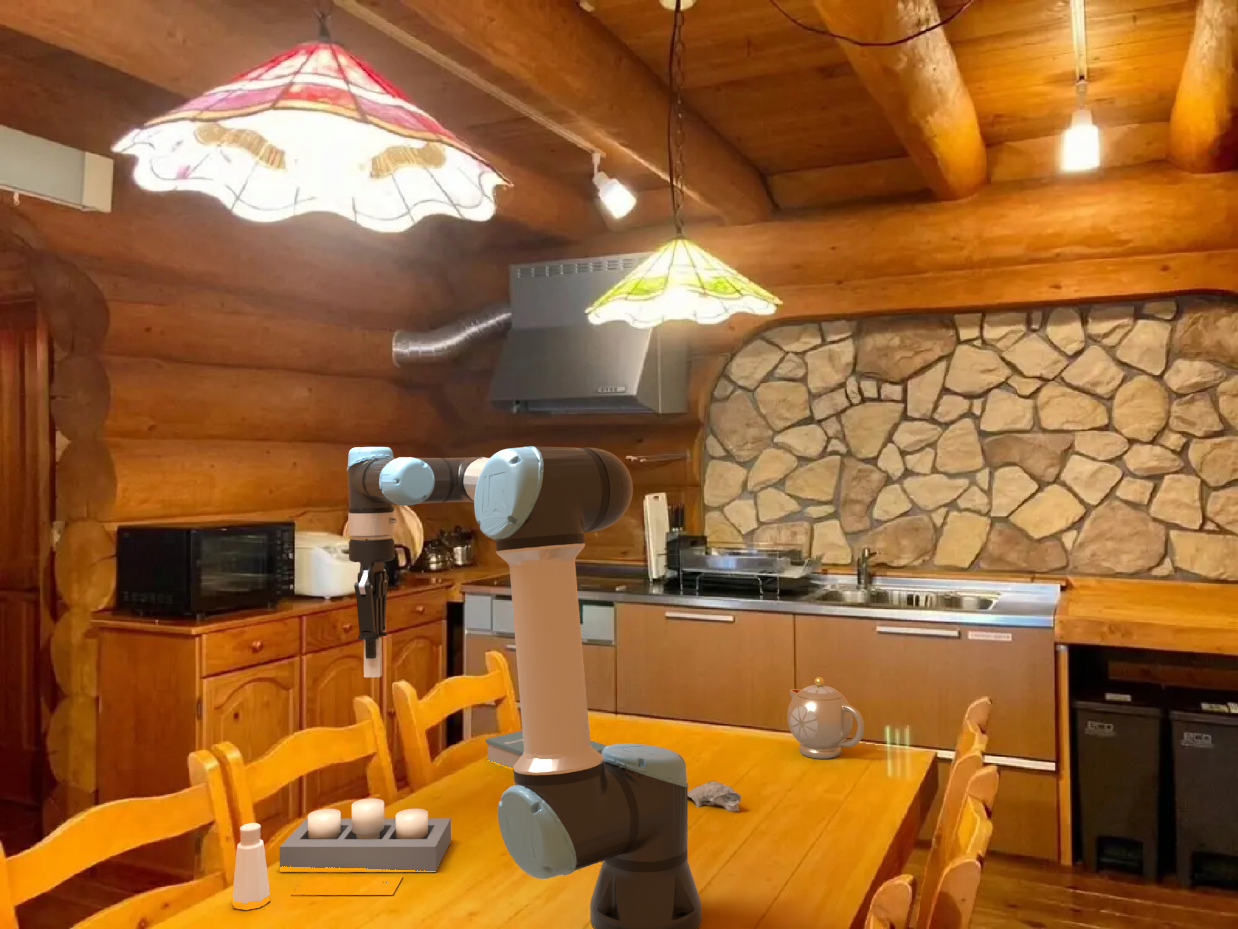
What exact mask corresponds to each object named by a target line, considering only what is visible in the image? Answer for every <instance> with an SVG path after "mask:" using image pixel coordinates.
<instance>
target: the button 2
mask: <svg viewBox="0 0 1238 929" xmlns="http://www.w3.org/2000/svg"><path fill="white" fill-rule="evenodd" d="M395 818H396V839H427V838H428V818H429V813H428V811H427V810H426V809H423V808H408V809H403V810H400V811H398V812H397V813H396V814H395Z"/></svg>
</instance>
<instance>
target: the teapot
mask: <svg viewBox="0 0 1238 929" xmlns="http://www.w3.org/2000/svg"><path fill="white" fill-rule="evenodd" d="M789 694H790V698H791V700H790V702H789V705H788V709H787V714H786V715H787V717H786V718H787V724H788V728H789V730H790V732H791V734H792V736H793V738H794V739H795V740H796V741H797V742H798V743H800V744H799V745H798V746H799V747H798V750H799V752H800V754H801V755H803V756H804V757H807V758H811V759H818V760H828V759H834V758H837V757H839V756H840V755H841V753H842V748H853V747H854V746H856V745H858V744H859V743H860V742H861V740H862V738H863V736H864V731H865V723H864V718H863V716H862V714H861V712H860V711H859V710H858V709H857V708H855V707H854V706H853V705H851V704H850V703H849V701H848V700H847V698H846V697H845V696H844V695H843V694H842V693H841V692H840V691H838V690H837V689H836V688H834V687H832V686H828V685H825V679H824V678H823V677H821V676H817V677H816V678H815V679H814V684H812V685H808V686H806V687H804V688H802V689H796V688H792V689H791V688H790V689H789ZM853 718H854V719H855V721H856V732H855V735H854V736H853V737H852V738H850V739H847V738H848V737H849V735H850V733H851V732H852V728H853V722H854V721H853V720H854V719H853Z"/></svg>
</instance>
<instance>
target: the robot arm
mask: <svg viewBox="0 0 1238 929" xmlns="http://www.w3.org/2000/svg"><path fill="white" fill-rule="evenodd" d="M347 459H348V460H347V468H346V472H347V489H348V490H347V495H348V499H347V500H348V513H347V514H348V515H347V516H348V517H347V518H348V521H347V522H348V523H347V524H348V530H347V531H348V534H347V535H348V536H349V537H351V539H350V540H349V541H348V559H349V561H350V562H352V563H359V565H360V566H359V572H357V575H356V576H357V582H354V584H353V586H354V593H355V597H356V599H355V600H356V608H357V610H356V611H357V620H358V634H359V635H357V638H358V640H363V677H364V678H381V677H382V676H383V643H382V642H383V638H382V637H387V635H388V632H385V630H386V621H387V620H386V619H387V602H388V601H387V600H388V599H387V596H388V595H387V594H388V586H389V579H390V576H389V574H387V571H386V570H385V566H384V563H385V562H389V561H393V560H394V559H395V540H394V538H392V537H391V536H393V535H394V534H395V525H394V524H397V522H398V519H397V517H394V512H395V505H398V506H404V507H405V506H414V505H417V504H418V505H419V504H435V503H436V504H438V503H441V504H442V503H473V504H474V505H473V506H474V516H475V520H476V523H477V524H478V525H479V530H480V531H481V533H483V534H484V535H485V536H486V537H488V538H489V539H492V540H493V541H495V549H496V555H498V556H499V557H500V558H501V560H503V561H505V562H506V563H507V565H508V566H509V576H510V578H509V579H510V587H511V588H510V590H511V592H510V593H511V603H512V604H511V605H512V615H513V616H512V617H513V618H512V619H513V627H514V630H513V631H514V640H515V643H514V644H515V654H516V655H515V656H516V665H517V667H516V668H517V678H518V680H517V681H518V692H519V694H518V695H519V703H520V704H519V705H520V717H521V718H520V719H521V729H522V730H521V731H522V732H523V744H524V752H523V755H522V756H521V757H520V758H519V760H518V761H517V762H516V764H515V765H514V767H513V770H514V771H513V781H514V783H513V784H514V785H512V786H509V787H508V788H507V789H506V790H504V791H503V792H502V794H501V796H500V800H499V802H498V806H497V820H498V821H497V822H498V826H499V832H500V835H501V838H502V840H503V844H504V846H505V847H506V850H507V852H508V854H509V855H510V857H512V859H513V861H514V862H515V863H516V865H517V866H518V867H519V869H520V870H521V871H523V872H524V873H526V874H527V875H528V876H530V877H533V878H535V879H538V880H539V879H540V880H544V879H545V880H546V879H550V878H554V877H558V876H567V875H571V874H573V873H574V872H575V871H577V870H581V869H583V868H587V867H589V866H593V865H595V864H597V863H601V866H600V869H599V873H598V876H597V879H596V882H595V886H594V888H593V893H592V895H591V899H590V904H589V906H590V907H589V908H590V911H589V912H590V914H589V916H590V924H591V925H592V927H593V928H594V929H698V927H699V926H700V924H701V922H702V902H701V898H700V895H699V892H698V889H697V886H696V883H695V879H694V877H693V874H692V871H691V867H690V864H689V860H688V859H689V858H688V857H689V856H688V855H689V854H688V804H689V803H688V801H689V800H688V799H689V797H688V788H689V783H688V782H687V780H688V779H687V765H686V762H685V759H684V758H683V757H682V756H681V754H679V753H677V752H675V751H674V750H671V749H668V748H664V747H662V746H661V747H660V746H656V745H649V744H642V743H641V744H640V743H616V744H609V745H607V746H606V747H605V748H604V749H603V750H602V754H600V753H599V752H597V751H596V750H595V749H594V748H593V747H592V746H591V744H590V741H591V735H590V725H589V724H590V723H589V711H588V701H587V700H588V698H587V686H586V679H585V678H586V675H585V663H584V655H583V654H584V652H583V643H582V642H583V640H582V629H581V618H580V617H581V616H580V606H579V604H580V603H579V594H578V581H577V570H576V569H577V568H576V559H577V556H578V555H580V553H581V552H582V550H583V549H584V548H585V547H586V541H585V540H586V539H585V533H592V532H594V533H595V532H599V531H602V530H605V529H607V528H610V527H611V526H613V525H615V524H616V523H618V522H619V521H620V520H621V518H623V516H624V515H625V513H627V511H628V509H629V507H630V505H631V502H632V498H633V495H634V494H633V493H634V492H633V491H634V487H633V486H634V485H633V479H632V476H631V473H630V471H629V469H628V467H627V466H626V464H625V463H624V462H623V461H622V460H621V458H619V457H618V456H616V455H615V454H614V453H612V452H609V451H608V450H604V449H601V448H596V447H561V446H560V447H559V446H556V447H555V446H532V445H531V446H530V445H529V446H523V447H512V448H511V447H510V448H505V449H502V450H499V451H498V452H495V453H494V454H493V455H492V456H491V457H484V456H473V457H411V456H409V457H407V456H405V457H404V456H401V457H400V456H399V457H394V452H393V450H392V449H391V447H387V446H364V447H363V446H362V447H360V446H358V447H353V448H351V449H350V450H349V451H348V458H347Z"/></svg>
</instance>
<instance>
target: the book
mask: <svg viewBox="0 0 1238 929" xmlns="http://www.w3.org/2000/svg"><path fill="white" fill-rule="evenodd" d="M485 743H486V744H487V759H486V760H490V762H491V761H493V762H496V763H499V764H501V765H504V766H507V767H511V768H513V767H514V765H515V764H516V762H517V761H518V760H519V758H520V757H521V756H522V755H523V752H524V744H523V732H522V730H519V731H515V732H511V733H507V734H502V735H501V734H500V735H497V736H494V737H489V738H486V739H485ZM590 744H591V746H592V747H593V748H594V749H595V750H596V751H597V752H599V753H600V754H602V750H603V749H604V748H605V747H606V746H608V745H607V744H602V743H600V742H597V741H594V740H590ZM490 762H489V763H490Z"/></svg>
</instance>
